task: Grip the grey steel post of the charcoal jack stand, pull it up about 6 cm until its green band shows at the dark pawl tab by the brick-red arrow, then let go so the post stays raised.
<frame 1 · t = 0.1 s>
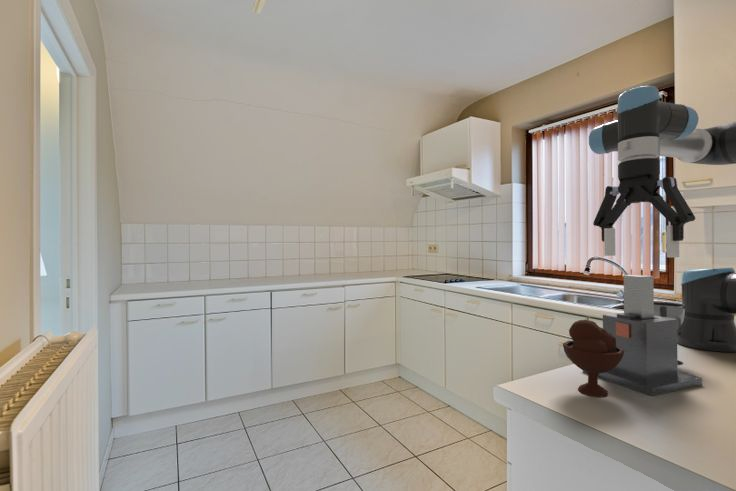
hand: (639, 256, 84), 28 cm above the counter, fingers open, 13 cm apart
post: (638, 321, 87), point 13 cm above the counter, slide at 0.0 cm
ice cream bowl: (592, 392, 79), on the counter
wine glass: (665, 361, 99), on the counter
stand housing: (639, 377, 87), on the counter
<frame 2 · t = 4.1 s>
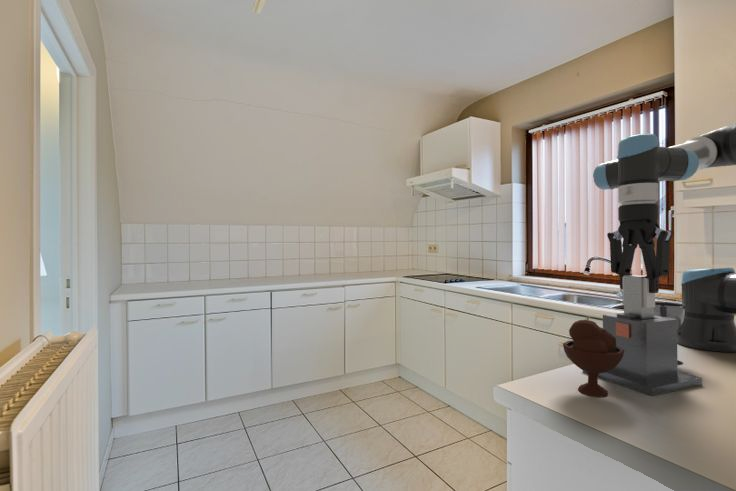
hand: (638, 305, 87), 17 cm above the counter, fingers closed on post, 4 cm apart
post: (638, 321, 87), point 13 cm above the counter, slide at 0.0 cm, touching gripper
everything else where it was.
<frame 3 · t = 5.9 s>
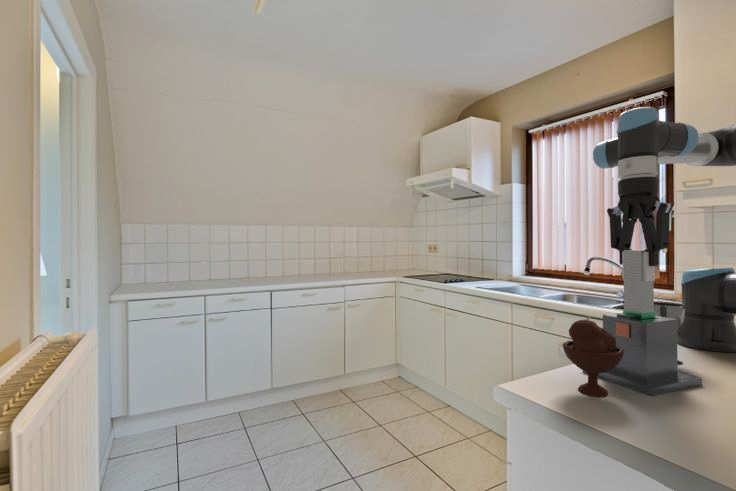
hand: (638, 279, 87), 23 cm above the counter, fingers closed on post, 4 cm apart
post: (638, 296, 87), point 19 cm above the counter, slide at 5.9 cm, touching gripper
everything else where it was.
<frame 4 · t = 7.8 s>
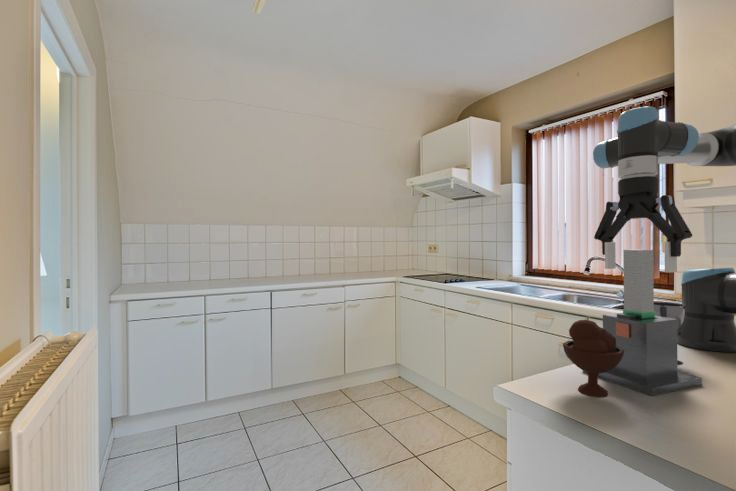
hand: (638, 270, 87), 25 cm above the counter, fingers open, 13 cm apart
post: (638, 295, 87), point 19 cm above the counter, slide at 6.0 cm
everything else where it was.
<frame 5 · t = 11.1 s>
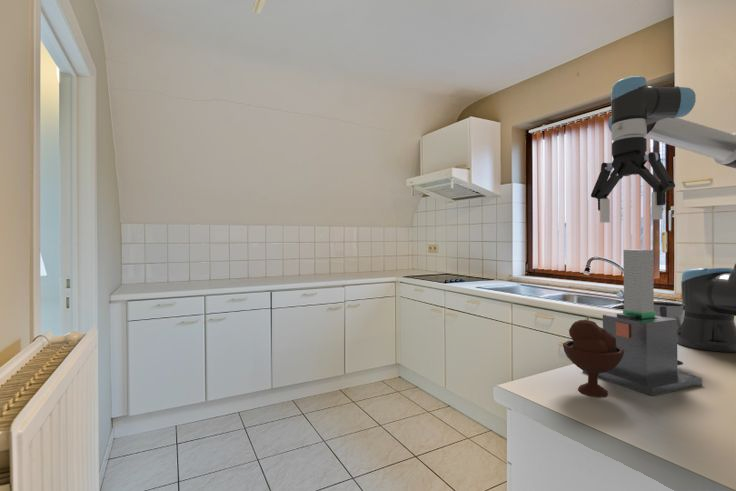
hand: (629, 221, 99), 37 cm above the counter, fingers open, 13 cm apart
nothing on the counter moved.
at the end: post slide at 6.0 cm; the gripper is holding nothing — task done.
